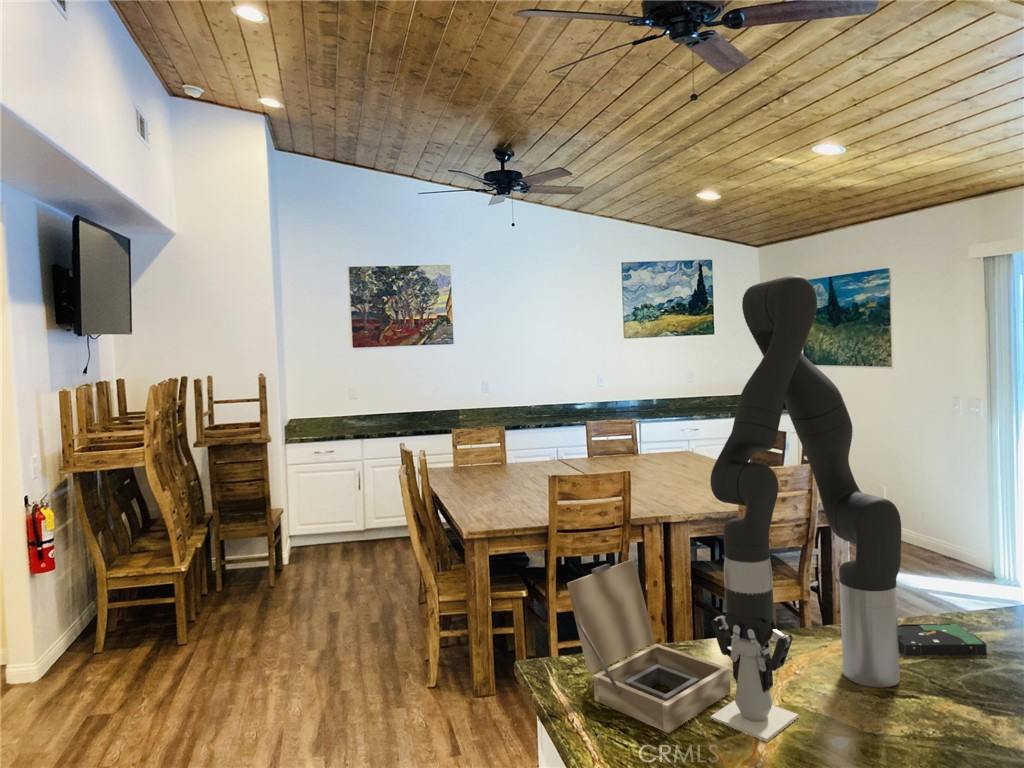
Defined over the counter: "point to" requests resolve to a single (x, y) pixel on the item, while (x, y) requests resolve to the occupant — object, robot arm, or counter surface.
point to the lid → (610, 613)
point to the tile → (758, 729)
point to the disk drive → (938, 640)
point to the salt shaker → (750, 684)
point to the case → (659, 664)
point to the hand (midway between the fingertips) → (752, 686)
